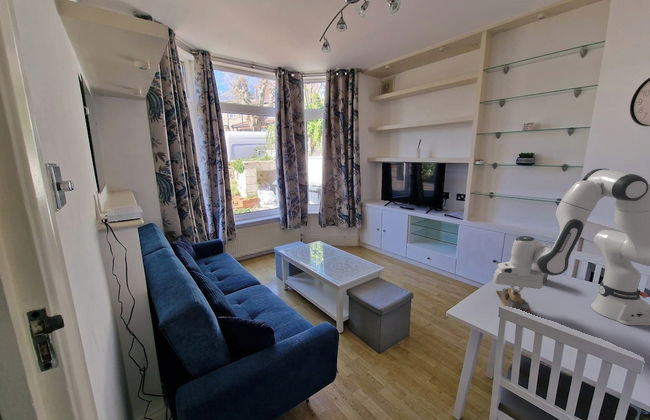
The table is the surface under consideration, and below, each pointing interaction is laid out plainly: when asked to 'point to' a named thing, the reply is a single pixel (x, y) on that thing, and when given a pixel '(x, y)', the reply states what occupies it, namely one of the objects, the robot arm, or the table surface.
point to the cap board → (509, 302)
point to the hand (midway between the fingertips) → (515, 293)
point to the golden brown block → (514, 296)
